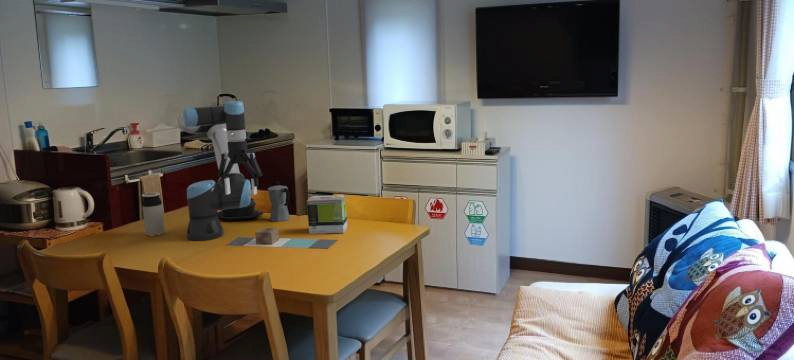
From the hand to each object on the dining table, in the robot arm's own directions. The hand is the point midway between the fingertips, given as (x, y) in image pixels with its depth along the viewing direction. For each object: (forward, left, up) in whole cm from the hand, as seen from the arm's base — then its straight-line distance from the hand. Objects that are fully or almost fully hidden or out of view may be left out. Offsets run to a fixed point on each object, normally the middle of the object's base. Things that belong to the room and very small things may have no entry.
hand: (241, 194), depth 267 cm
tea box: (+29, +20, -20) cm, 41 cm away
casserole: (-23, +40, -20) cm, 50 cm away
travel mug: (-47, +8, -20) cm, 52 cm away
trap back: (-2, 0, -20) cm, 20 cm away
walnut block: (+10, 0, -20) cm, 22 cm away
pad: (+24, 0, -20) cm, 31 cm away
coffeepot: (0, +37, -20) cm, 42 cm away
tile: (+10, 0, -20) cm, 22 cm away
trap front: (+34, 0, -20) cm, 39 cm away
